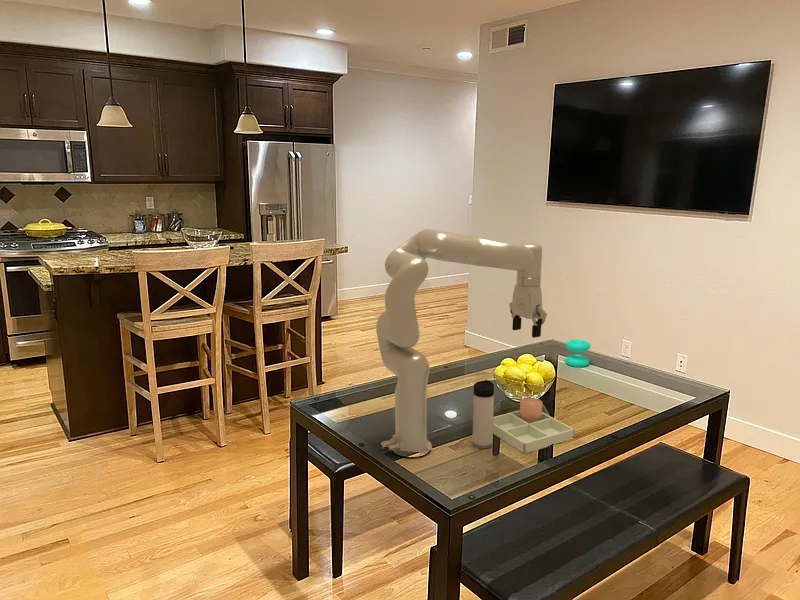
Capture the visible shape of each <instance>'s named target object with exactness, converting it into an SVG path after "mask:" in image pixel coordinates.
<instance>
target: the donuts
mask: <svg viewBox="0 0 800 600" xmlns="http://www.w3.org/2000/svg"><path fill="white" fill-rule="evenodd" d="M565 346H566V348H567V349H568V350H569V351H571V352H574V354H569V355H567V356H566V357H565V358H564V361H565V363H566V365H568V366H570V367H574V368H583V367H587V366H588V365H589V364H590V359H589V358H588V357H587V356H585V355H583V354H578V353H580V352H581V353H584V352H586V351H589V350H590V348H591V344H590V342H589V341H587V340H584V339H576V338H575V339H569V340H567V342H566V343H565ZM575 352H576V353H575Z"/></svg>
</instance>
